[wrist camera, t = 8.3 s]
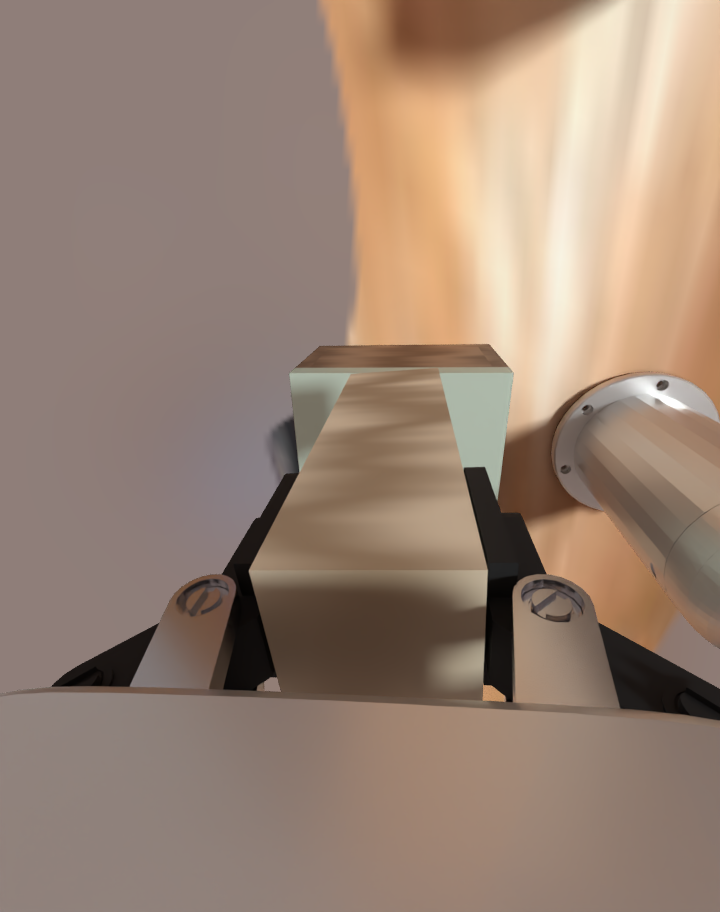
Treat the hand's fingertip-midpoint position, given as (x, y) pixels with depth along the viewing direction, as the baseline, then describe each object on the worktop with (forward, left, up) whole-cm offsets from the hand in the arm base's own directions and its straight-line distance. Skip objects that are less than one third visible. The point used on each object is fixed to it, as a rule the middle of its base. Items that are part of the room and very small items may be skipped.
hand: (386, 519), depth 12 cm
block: (0, 0, -9) cm, 9 cm away
